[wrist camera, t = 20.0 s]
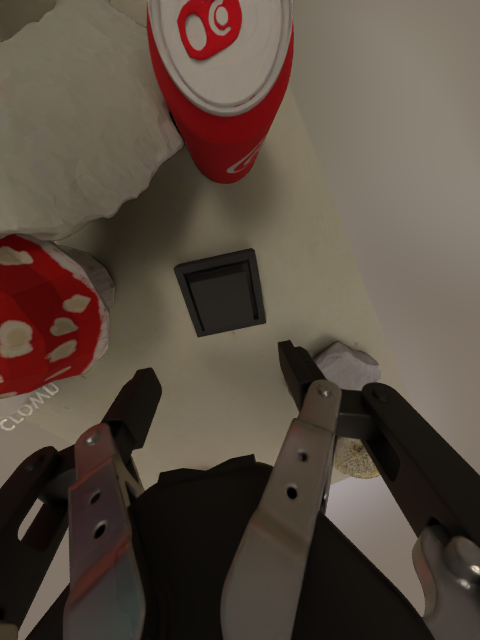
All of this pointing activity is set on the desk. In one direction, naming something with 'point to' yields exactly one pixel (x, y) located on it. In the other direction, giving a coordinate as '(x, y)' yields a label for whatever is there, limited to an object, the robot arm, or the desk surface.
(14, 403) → the figurine
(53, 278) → the decorative mushroom
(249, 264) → the base pad
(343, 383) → the stone block
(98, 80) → the rock
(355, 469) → the decorative item
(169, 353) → the desk surface
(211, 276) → the small pad
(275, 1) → the beverage can
